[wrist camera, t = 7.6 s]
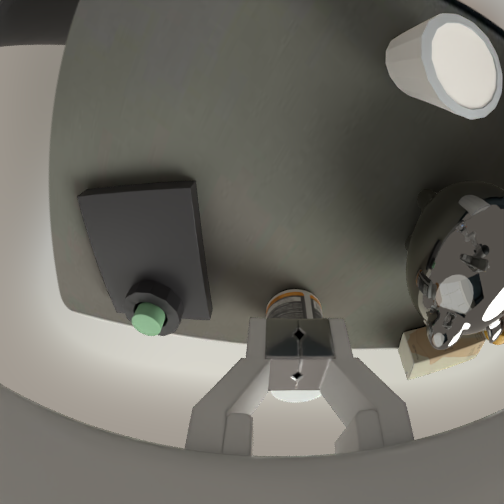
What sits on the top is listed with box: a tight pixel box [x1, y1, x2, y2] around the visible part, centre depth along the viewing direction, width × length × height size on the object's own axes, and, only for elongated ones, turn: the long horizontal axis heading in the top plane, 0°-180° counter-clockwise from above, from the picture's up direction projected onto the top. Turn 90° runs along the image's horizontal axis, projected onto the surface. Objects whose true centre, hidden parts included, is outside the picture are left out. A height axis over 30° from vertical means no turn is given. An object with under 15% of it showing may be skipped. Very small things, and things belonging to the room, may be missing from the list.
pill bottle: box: [266, 289, 323, 402], centre depth 25 cm, size 6×6×10 cm
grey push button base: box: [77, 181, 213, 336], centre depth 25 cm, size 15×11×4 cm
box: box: [398, 327, 485, 380], centre depth 29 cm, size 5×4×11 cm
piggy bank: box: [405, 181, 504, 350], centre depth 18 cm, size 11×15×12 cm
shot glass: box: [385, 13, 502, 120], centre depth 12 cm, size 7×7×7 cm
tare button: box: [132, 302, 166, 336], centre depth 26 cm, size 3×3×2 cm
